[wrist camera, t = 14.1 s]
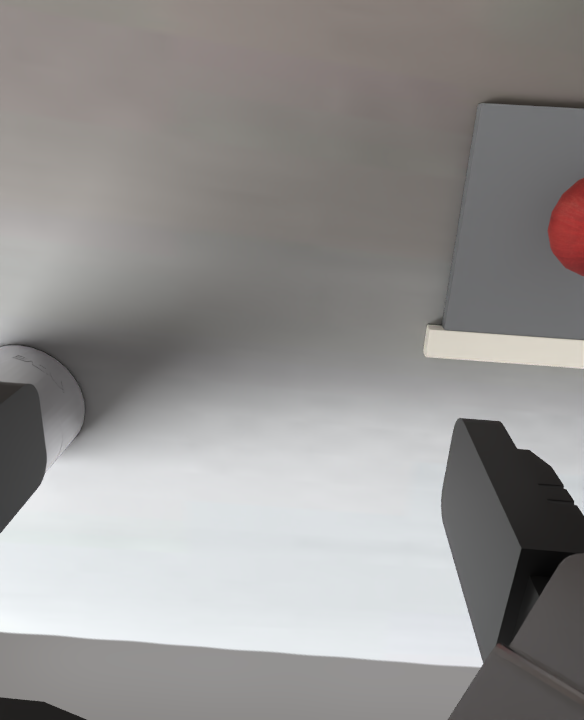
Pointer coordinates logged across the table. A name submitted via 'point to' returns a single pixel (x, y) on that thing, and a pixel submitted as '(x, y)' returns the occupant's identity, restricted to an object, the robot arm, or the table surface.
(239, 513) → the table surface
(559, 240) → the onion
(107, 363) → the table surface
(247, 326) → the table surface
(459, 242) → the mat
